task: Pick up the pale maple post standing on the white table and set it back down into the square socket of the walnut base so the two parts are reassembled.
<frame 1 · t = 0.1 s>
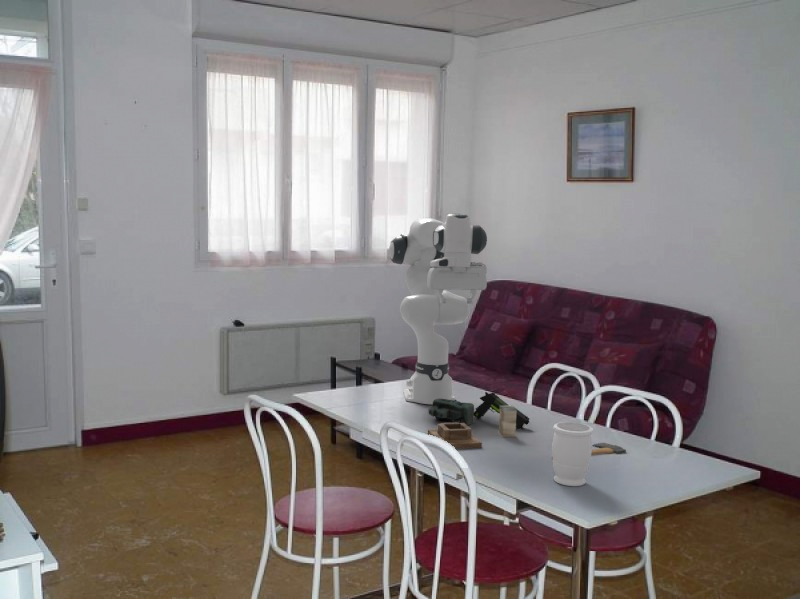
hand: (456, 303, 280), 39 cm above the table, fingers open, 8 cm apart
maple post: (506, 435, 266), on the table
walnut base: (453, 440, 257), on the table
pistol: (500, 424, 279), on the table
sculpture: (452, 421, 280), on the table
hand axe: (583, 455, 250), on the table
jar: (569, 482, 224), on the table
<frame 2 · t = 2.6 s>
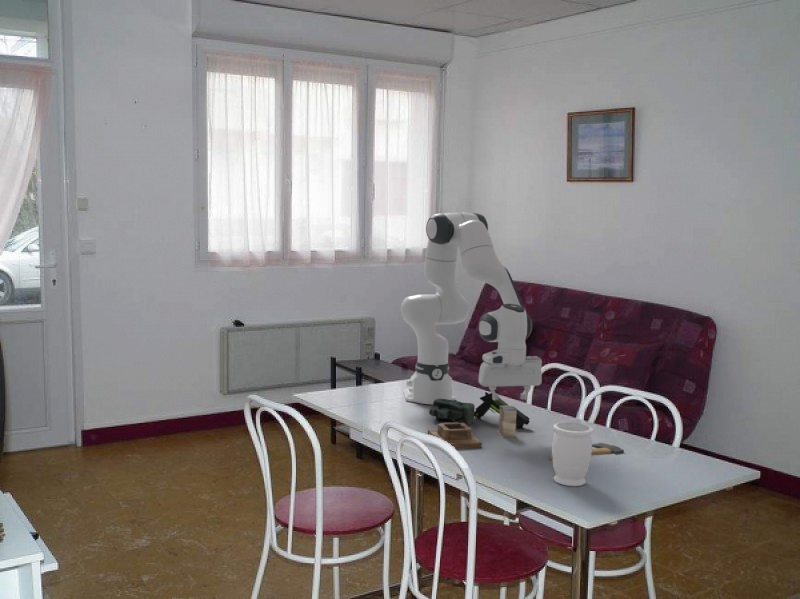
hand: (509, 399, 264), 11 cm above the table, fingers open, 8 cm apart
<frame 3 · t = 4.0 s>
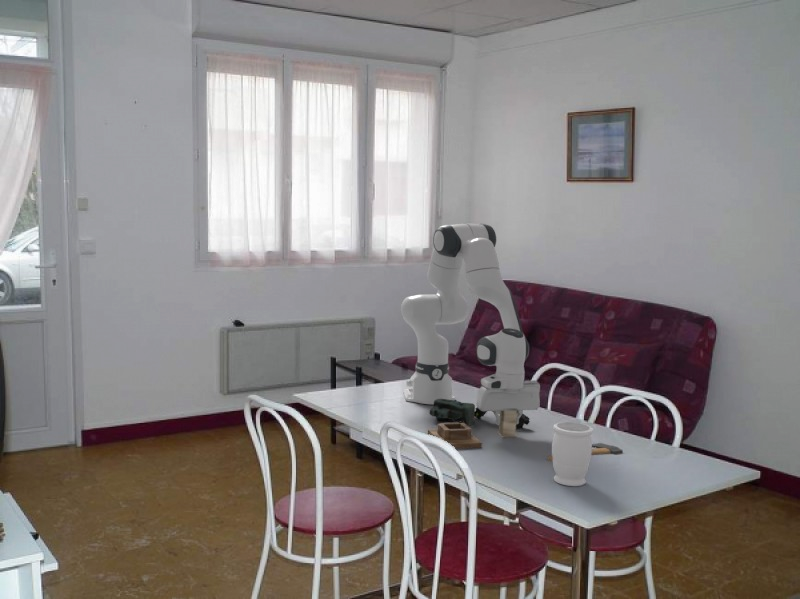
hand: (507, 423, 266), 4 cm above the table, fingers closed on maple post, 4 cm apart
maple post: (506, 434, 266), on the table, touching gripper
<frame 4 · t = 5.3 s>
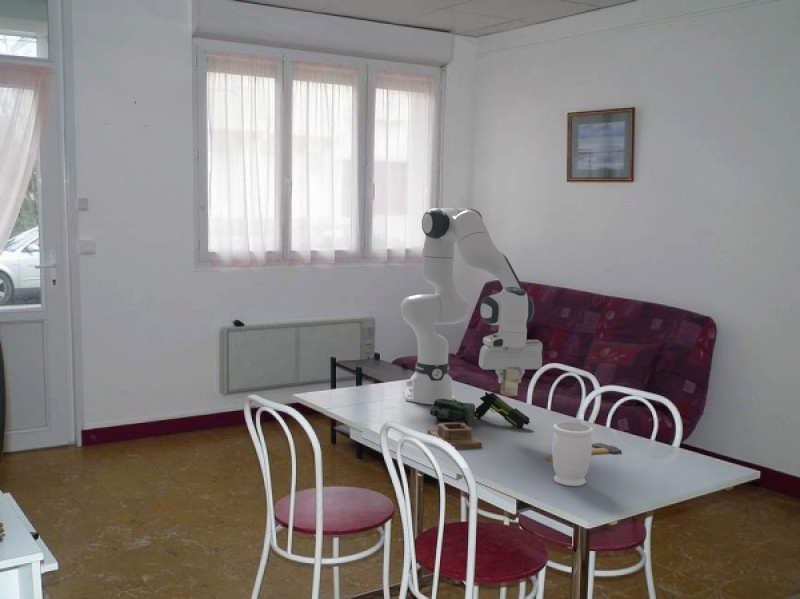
hand: (509, 383, 264), 17 cm above the table, fingers closed on maple post, 4 cm apart
maple post: (508, 394, 265), point 13 cm above the table, touching gripper
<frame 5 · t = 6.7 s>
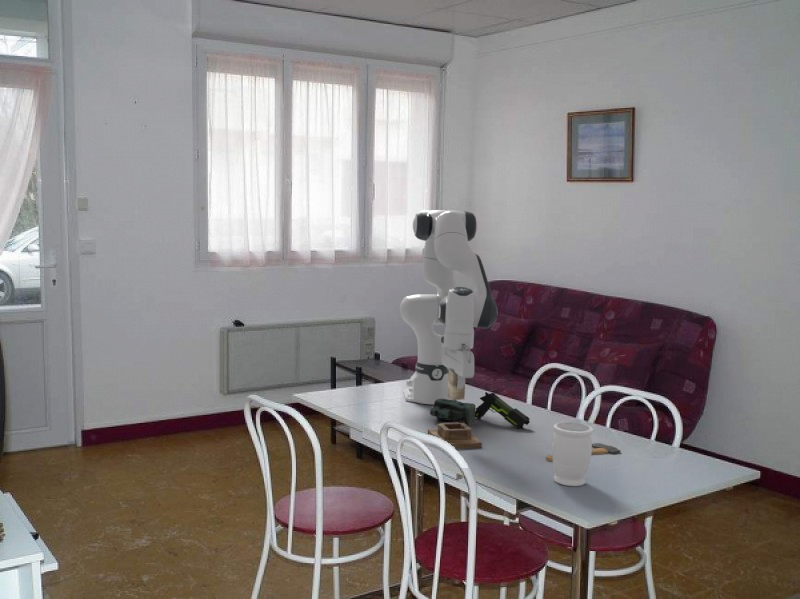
hand: (456, 386, 255), 17 cm above the table, fingers closed on maple post, 4 cm apart
maple post: (455, 398, 256), point 13 cm above the table, touching gripper
when the fingers open (6 cm above the table, at t = 9.1 s): maple post stays where it is, resting on walnut base.
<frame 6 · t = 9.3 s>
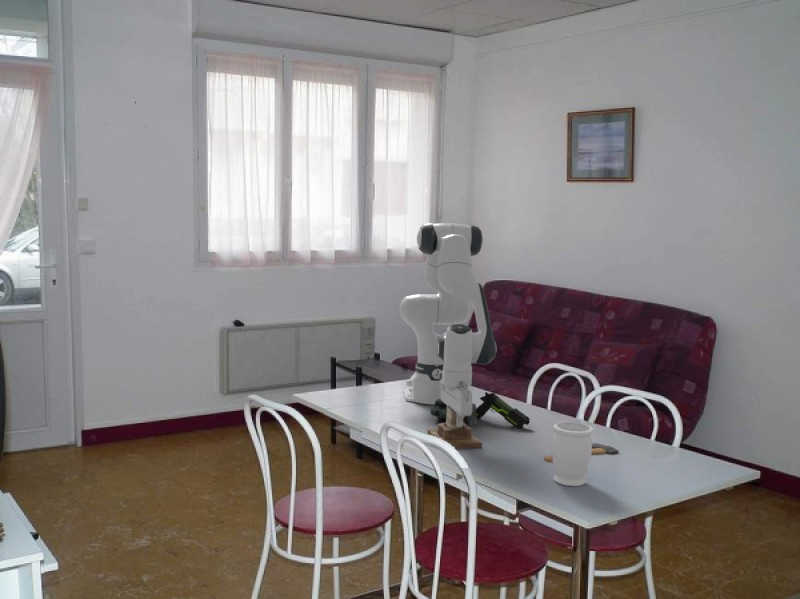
hand: (454, 422, 257), 6 cm above the table, fingers open, 6 cm apart
maple post: (453, 435, 257), point 1 cm above the table, touching walnut base
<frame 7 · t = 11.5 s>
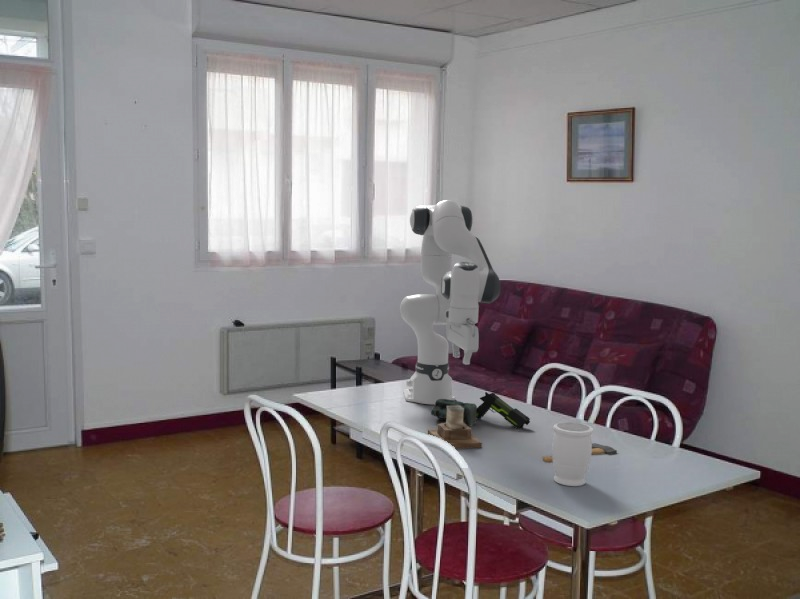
hand: (461, 360, 257), 24 cm above the table, fingers open, 8 cm apart
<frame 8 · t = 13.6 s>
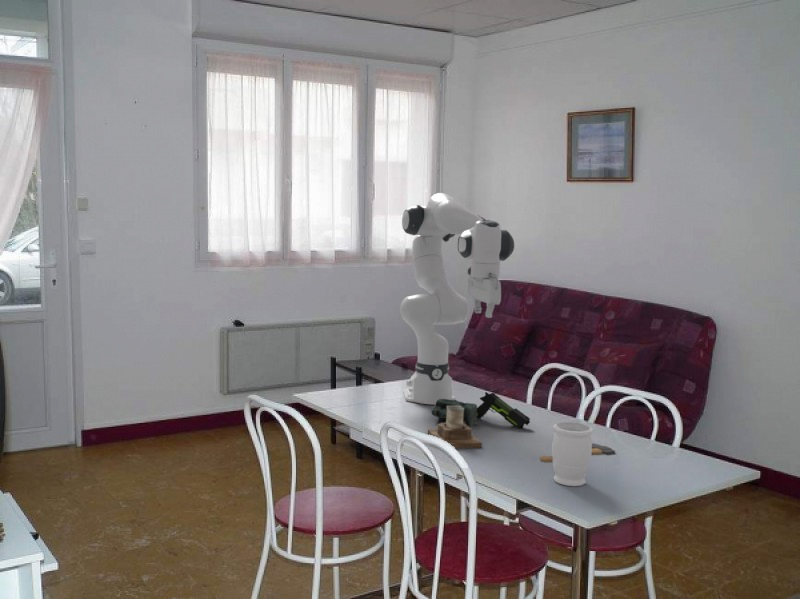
hand: (483, 315, 267), 37 cm above the table, fingers open, 8 cm apart
at the end: maple post 0.1 cm off-centre on the walnut base, point 1.5 cm above the walnut base's base; maple post tilted 0°; the gripper is holding nothing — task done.
